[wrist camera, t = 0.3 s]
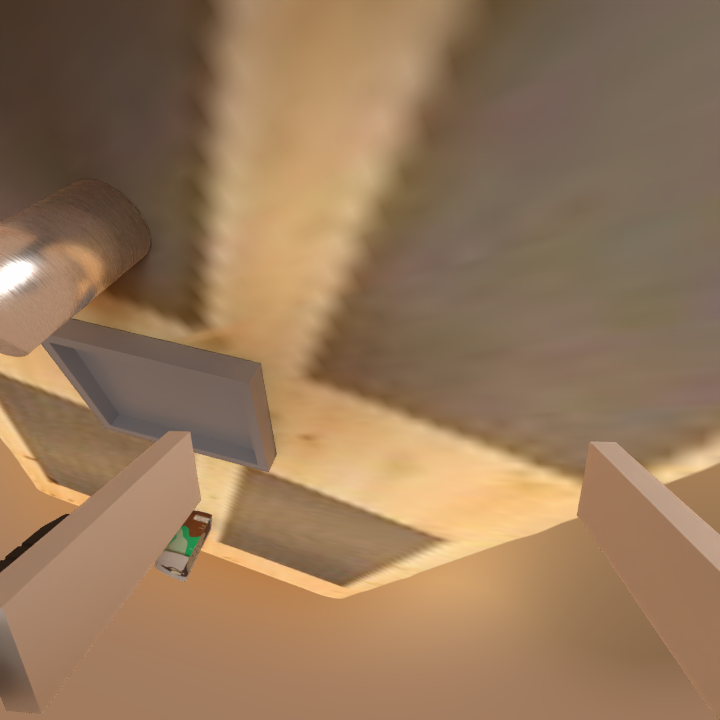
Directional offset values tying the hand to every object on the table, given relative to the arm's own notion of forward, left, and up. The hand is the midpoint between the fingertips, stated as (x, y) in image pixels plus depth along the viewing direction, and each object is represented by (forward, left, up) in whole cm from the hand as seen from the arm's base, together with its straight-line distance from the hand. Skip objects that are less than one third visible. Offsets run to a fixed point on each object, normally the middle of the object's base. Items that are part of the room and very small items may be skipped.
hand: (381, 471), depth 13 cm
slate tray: (+23, -24, -15) cm, 37 cm away
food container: (+67, -33, -16) cm, 76 cm away
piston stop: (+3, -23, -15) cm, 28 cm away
